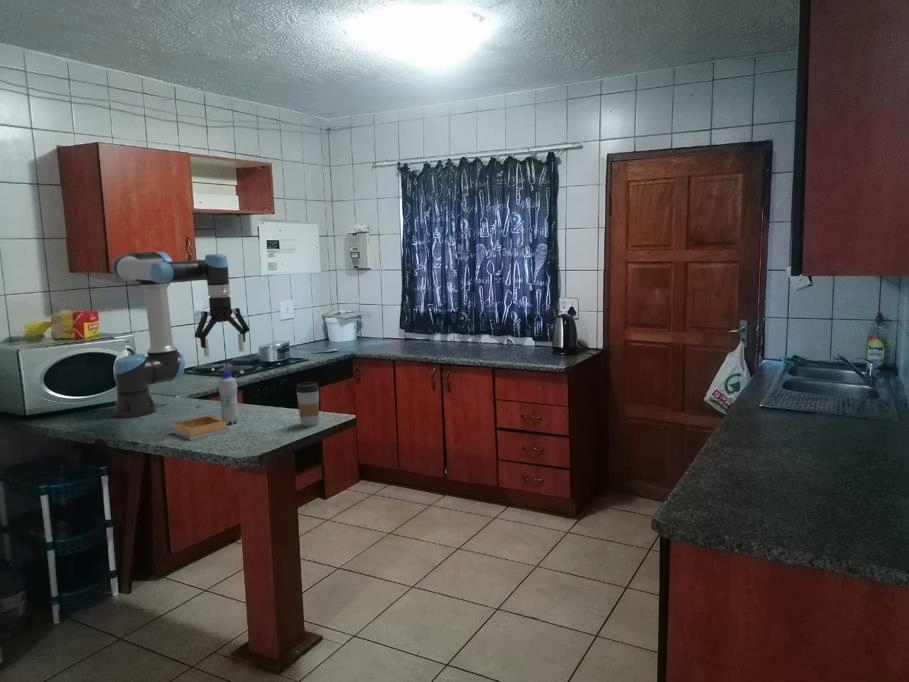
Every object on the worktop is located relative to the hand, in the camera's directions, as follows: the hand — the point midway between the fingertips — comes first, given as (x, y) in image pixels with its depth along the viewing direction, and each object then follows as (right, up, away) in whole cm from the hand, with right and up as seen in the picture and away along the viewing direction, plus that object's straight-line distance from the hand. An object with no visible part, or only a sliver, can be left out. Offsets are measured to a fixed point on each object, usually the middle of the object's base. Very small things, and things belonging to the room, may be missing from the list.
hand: (224, 353), depth 244 cm
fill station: (-6, -28, -7) cm, 30 cm away
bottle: (+1, -26, +4) cm, 27 cm away
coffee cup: (+32, -26, -2) cm, 41 cm away
